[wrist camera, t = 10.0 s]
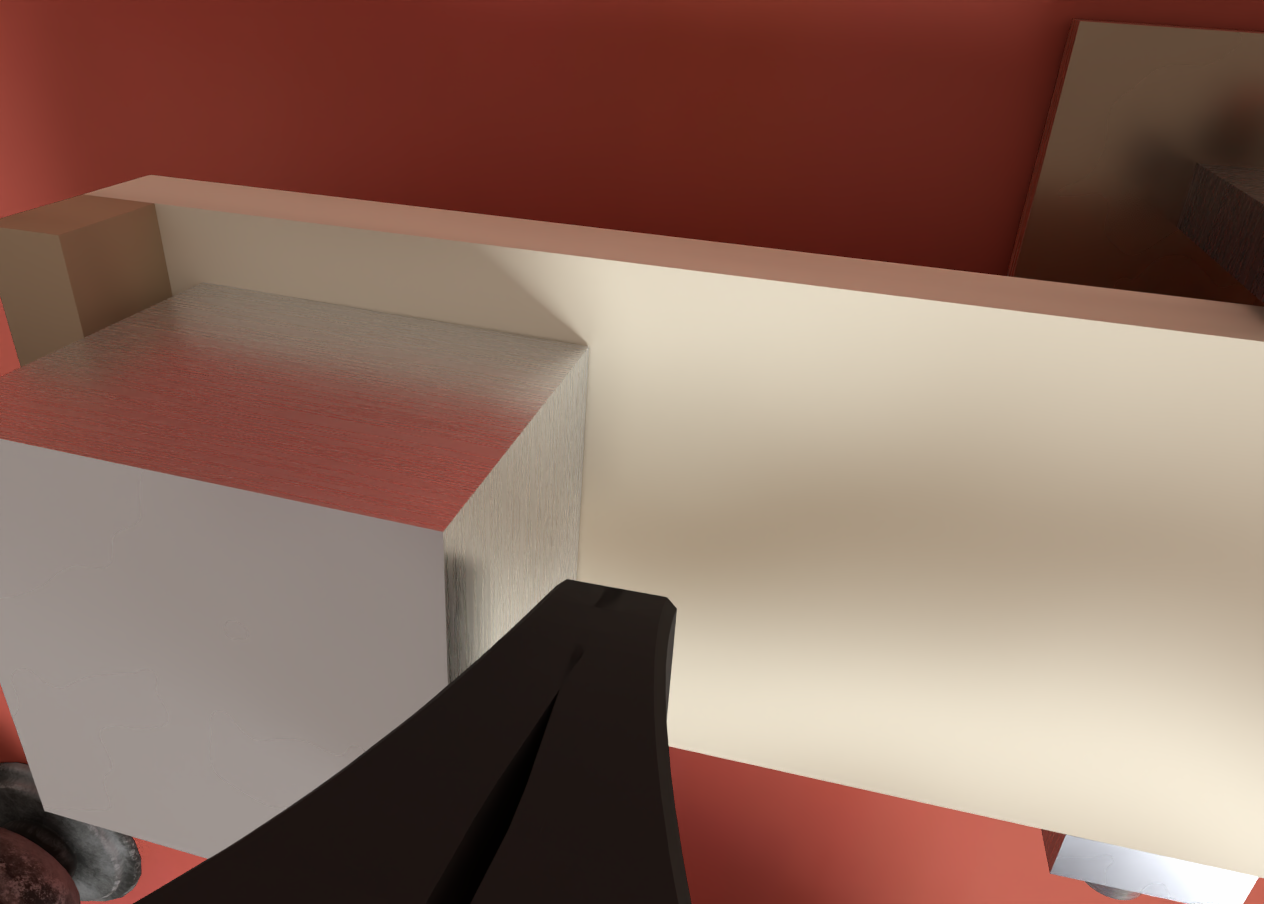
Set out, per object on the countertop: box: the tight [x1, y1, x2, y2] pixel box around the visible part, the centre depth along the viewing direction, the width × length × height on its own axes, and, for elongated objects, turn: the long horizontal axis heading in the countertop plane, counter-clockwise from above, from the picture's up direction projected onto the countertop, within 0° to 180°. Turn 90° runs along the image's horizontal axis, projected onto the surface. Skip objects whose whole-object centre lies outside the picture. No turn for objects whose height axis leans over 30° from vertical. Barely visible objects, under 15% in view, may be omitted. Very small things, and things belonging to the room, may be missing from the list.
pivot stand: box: [1007, 19, 1264, 904], centre depth 12 cm, size 12×6×4 cm, turn 177°
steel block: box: [0, 282, 589, 859], centre depth 11 cm, size 5×5×4 cm
